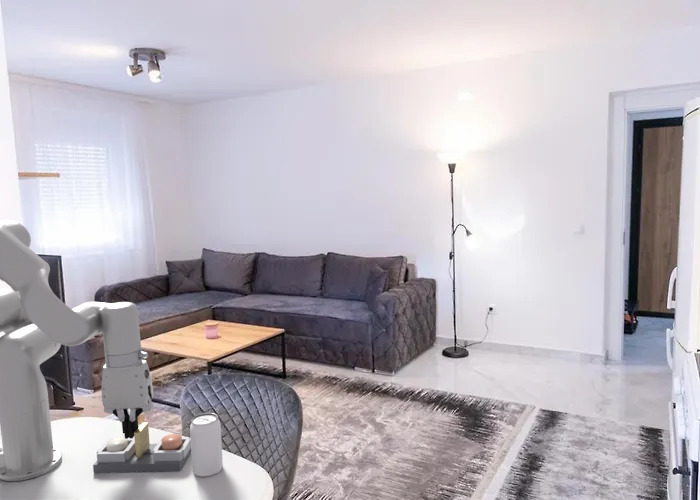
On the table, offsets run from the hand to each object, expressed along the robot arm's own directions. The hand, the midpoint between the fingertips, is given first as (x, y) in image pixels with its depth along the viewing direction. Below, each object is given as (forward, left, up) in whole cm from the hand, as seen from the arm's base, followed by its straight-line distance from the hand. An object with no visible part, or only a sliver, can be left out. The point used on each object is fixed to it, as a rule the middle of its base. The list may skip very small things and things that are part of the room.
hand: (131, 435), depth 119 cm
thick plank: (+2, 0, -4) cm, 5 cm away
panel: (+3, 0, -6) cm, 7 cm away
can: (+18, -4, -7) cm, 20 cm away
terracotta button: (+9, 0, -3) cm, 10 cm away
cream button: (-3, 0, -4) cm, 5 cm away
